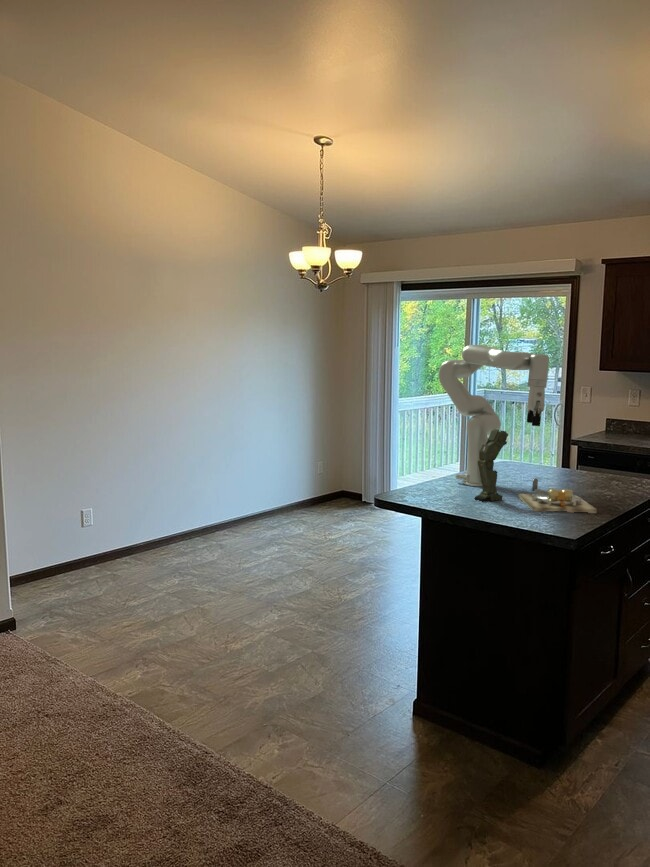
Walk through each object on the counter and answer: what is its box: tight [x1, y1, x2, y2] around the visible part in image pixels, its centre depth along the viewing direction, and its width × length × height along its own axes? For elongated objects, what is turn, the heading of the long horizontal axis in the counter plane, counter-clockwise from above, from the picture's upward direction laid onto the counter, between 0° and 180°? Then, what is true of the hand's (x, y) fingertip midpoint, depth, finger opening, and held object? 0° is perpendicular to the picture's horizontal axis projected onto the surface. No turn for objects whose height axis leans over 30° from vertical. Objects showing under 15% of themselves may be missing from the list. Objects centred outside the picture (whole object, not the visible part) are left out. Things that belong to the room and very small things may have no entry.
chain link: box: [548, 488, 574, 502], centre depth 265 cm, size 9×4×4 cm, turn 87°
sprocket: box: [531, 478, 582, 506], centre depth 271 cm, size 19×21×6 cm
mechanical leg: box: [473, 429, 509, 503], centre depth 277 cm, size 14×7×30 cm, turn 118°
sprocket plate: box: [518, 493, 598, 514], centre depth 271 cm, size 24×24×2 cm
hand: (533, 424), depth 287 cm, fingers open, 9 cm apart
